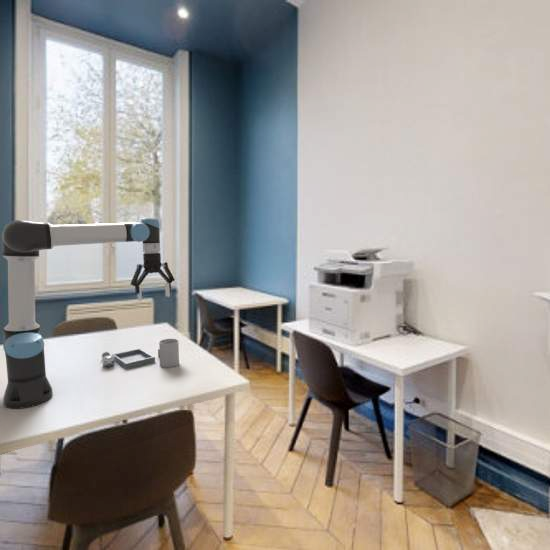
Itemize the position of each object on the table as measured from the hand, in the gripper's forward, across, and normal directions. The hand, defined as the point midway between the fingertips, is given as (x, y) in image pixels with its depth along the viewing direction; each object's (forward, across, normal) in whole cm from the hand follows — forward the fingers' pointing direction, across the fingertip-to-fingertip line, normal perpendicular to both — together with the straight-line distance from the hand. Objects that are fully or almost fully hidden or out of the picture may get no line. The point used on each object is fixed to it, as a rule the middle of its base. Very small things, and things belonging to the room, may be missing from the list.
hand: (154, 298), depth 180 cm
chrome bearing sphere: (+29, -19, +8) cm, 36 cm away
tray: (+29, -8, +7) cm, 31 cm away
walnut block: (+30, +4, +2) cm, 30 cm away
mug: (+30, +2, -7) cm, 31 cm away
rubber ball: (+28, -17, +17) cm, 37 cm away
